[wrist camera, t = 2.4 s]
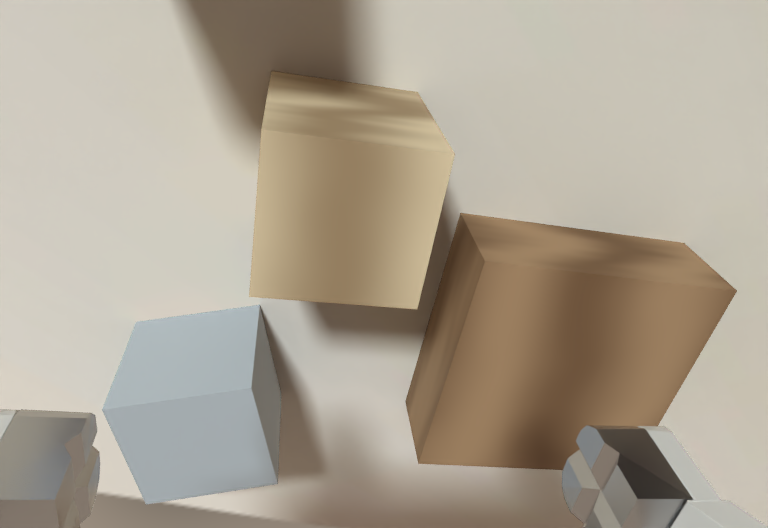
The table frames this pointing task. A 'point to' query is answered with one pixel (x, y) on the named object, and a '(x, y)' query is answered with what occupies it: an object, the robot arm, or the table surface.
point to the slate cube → (197, 405)
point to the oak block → (346, 193)
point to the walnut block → (554, 340)
